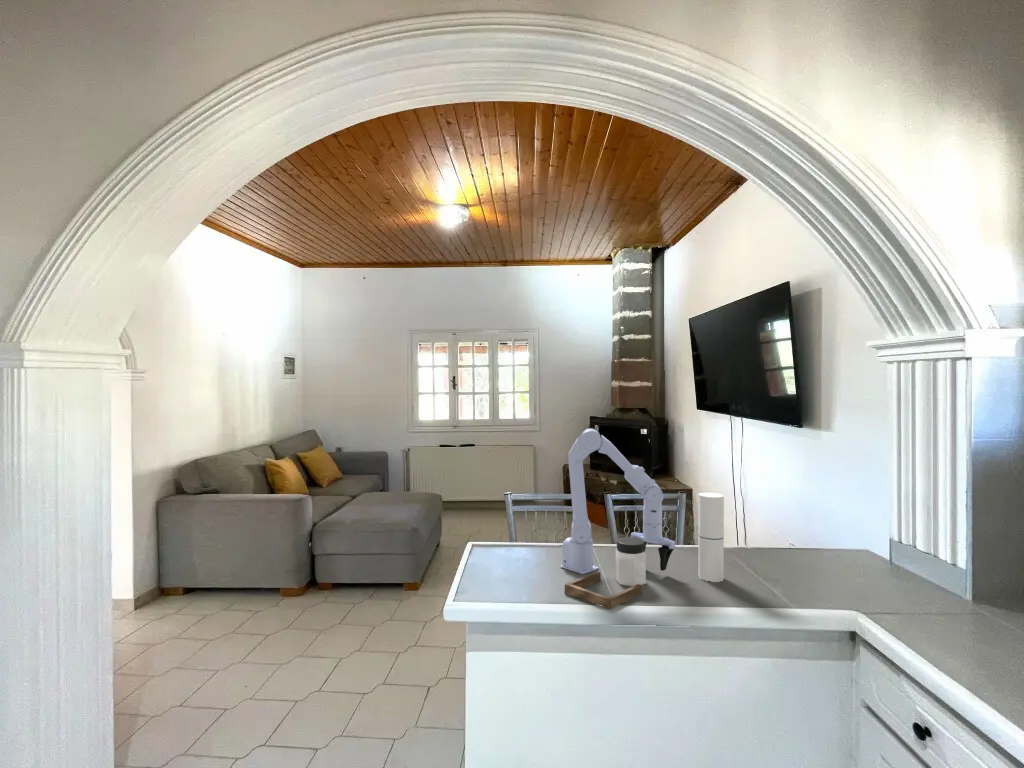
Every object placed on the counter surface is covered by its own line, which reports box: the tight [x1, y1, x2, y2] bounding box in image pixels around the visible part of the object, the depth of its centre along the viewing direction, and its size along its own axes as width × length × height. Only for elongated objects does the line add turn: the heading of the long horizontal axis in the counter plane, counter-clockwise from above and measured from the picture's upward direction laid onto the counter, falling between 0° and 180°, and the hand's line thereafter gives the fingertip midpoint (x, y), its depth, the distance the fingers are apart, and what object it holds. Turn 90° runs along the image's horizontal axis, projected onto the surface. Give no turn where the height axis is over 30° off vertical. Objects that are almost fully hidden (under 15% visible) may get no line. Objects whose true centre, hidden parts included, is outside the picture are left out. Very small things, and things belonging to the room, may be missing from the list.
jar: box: [615, 536, 647, 587], centre depth 163 cm, size 9×8×12 cm
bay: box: [564, 570, 643, 610], centre depth 154 cm, size 15×15×2 cm
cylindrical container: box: [697, 491, 725, 583], centre depth 166 cm, size 7×7×25 cm
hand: (652, 566), depth 171 cm, fingers open, 7 cm apart
